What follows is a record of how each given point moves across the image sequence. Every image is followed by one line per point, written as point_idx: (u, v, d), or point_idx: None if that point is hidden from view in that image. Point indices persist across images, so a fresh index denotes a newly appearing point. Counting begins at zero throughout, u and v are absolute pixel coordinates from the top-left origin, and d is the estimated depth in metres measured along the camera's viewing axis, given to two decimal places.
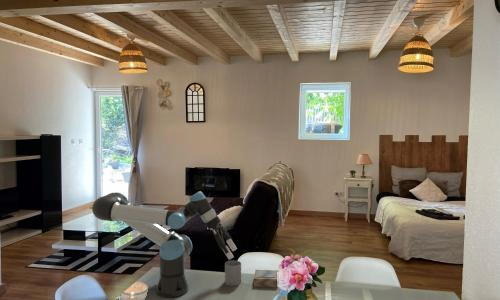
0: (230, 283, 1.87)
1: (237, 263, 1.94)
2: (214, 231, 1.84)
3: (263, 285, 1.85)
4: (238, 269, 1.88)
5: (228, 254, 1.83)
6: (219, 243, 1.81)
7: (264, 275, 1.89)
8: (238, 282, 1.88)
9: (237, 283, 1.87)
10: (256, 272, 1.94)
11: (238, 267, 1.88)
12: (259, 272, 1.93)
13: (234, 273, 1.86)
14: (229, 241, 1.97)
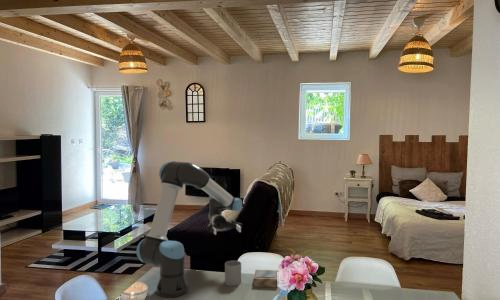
0: (230, 283, 1.87)
1: (237, 263, 1.94)
2: None
3: (263, 285, 1.85)
4: (238, 269, 1.88)
5: None
6: None
7: (264, 275, 1.89)
8: (238, 282, 1.88)
9: (237, 283, 1.87)
10: (256, 272, 1.94)
11: (238, 267, 1.88)
12: (259, 272, 1.93)
13: (234, 273, 1.86)
14: None
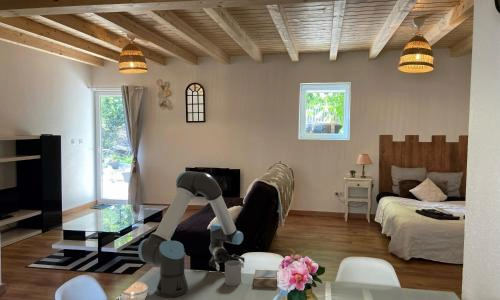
0: (230, 283, 1.87)
1: (237, 263, 1.94)
2: None
3: (263, 285, 1.85)
4: (238, 269, 1.88)
5: None
6: None
7: (264, 275, 1.89)
8: (238, 282, 1.88)
9: (237, 283, 1.87)
10: (256, 272, 1.94)
11: (238, 267, 1.88)
12: (259, 272, 1.93)
13: (234, 273, 1.86)
14: None
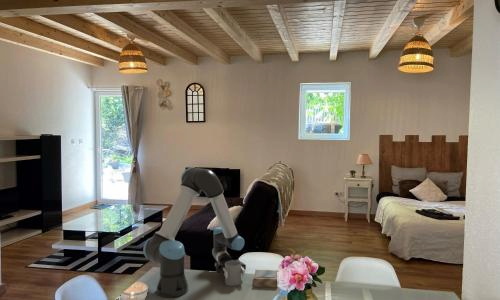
0: (230, 283, 1.87)
1: (237, 263, 1.94)
2: None
3: (263, 285, 1.85)
4: (238, 269, 1.88)
5: None
6: None
7: (264, 275, 1.89)
8: (238, 282, 1.88)
9: (237, 283, 1.87)
10: (256, 272, 1.94)
11: (238, 267, 1.88)
12: (259, 272, 1.93)
13: (234, 273, 1.86)
14: None
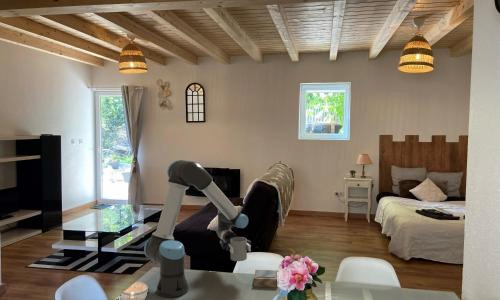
0: (236, 259, 1.87)
1: (242, 239, 1.94)
2: None
3: (263, 285, 1.85)
4: (244, 245, 1.88)
5: None
6: None
7: (264, 275, 1.89)
8: (244, 258, 1.88)
9: (243, 259, 1.88)
10: (256, 272, 1.94)
11: (244, 243, 1.88)
12: (259, 272, 1.93)
13: (239, 249, 1.87)
14: None
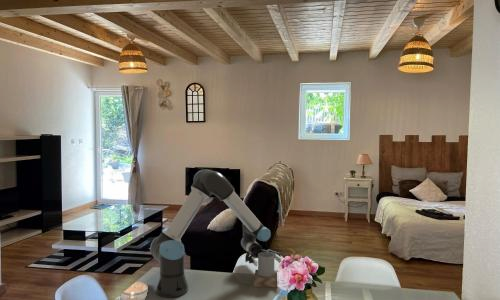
0: (264, 274, 1.87)
1: (270, 254, 1.94)
2: None
3: (263, 285, 1.85)
4: (272, 260, 1.88)
5: None
6: None
7: None
8: (272, 273, 1.88)
9: (271, 274, 1.88)
10: (256, 272, 1.94)
11: (272, 258, 1.88)
12: None
13: (268, 264, 1.87)
14: None
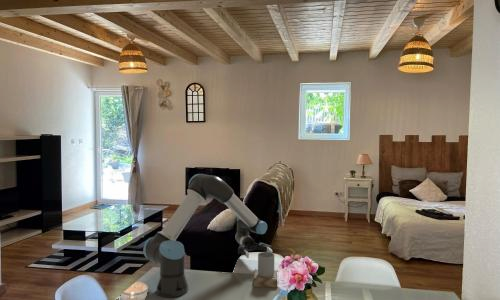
0: (264, 274, 1.87)
1: (270, 254, 1.94)
2: None
3: (263, 285, 1.85)
4: (272, 260, 1.88)
5: None
6: None
7: None
8: (272, 273, 1.88)
9: (271, 274, 1.88)
10: (256, 272, 1.94)
11: (272, 258, 1.88)
12: None
13: (267, 264, 1.87)
14: None
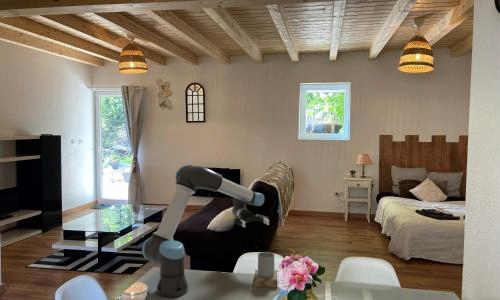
0: (264, 274, 1.87)
1: (270, 254, 1.94)
2: None
3: (263, 285, 1.85)
4: (272, 260, 1.88)
5: None
6: None
7: None
8: (272, 273, 1.88)
9: (271, 274, 1.88)
10: (256, 272, 1.94)
11: (272, 258, 1.88)
12: None
13: (267, 264, 1.87)
14: None
